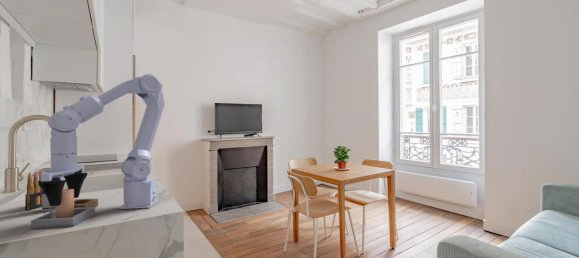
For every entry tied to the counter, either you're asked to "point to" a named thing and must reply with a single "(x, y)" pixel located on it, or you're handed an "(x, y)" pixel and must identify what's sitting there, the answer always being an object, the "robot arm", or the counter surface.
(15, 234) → the counter surface
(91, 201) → the frame
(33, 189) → the ammunition clip
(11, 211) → the counter surface
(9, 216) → the counter surface
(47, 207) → the energy drink
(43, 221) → the tray
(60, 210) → the dowel
